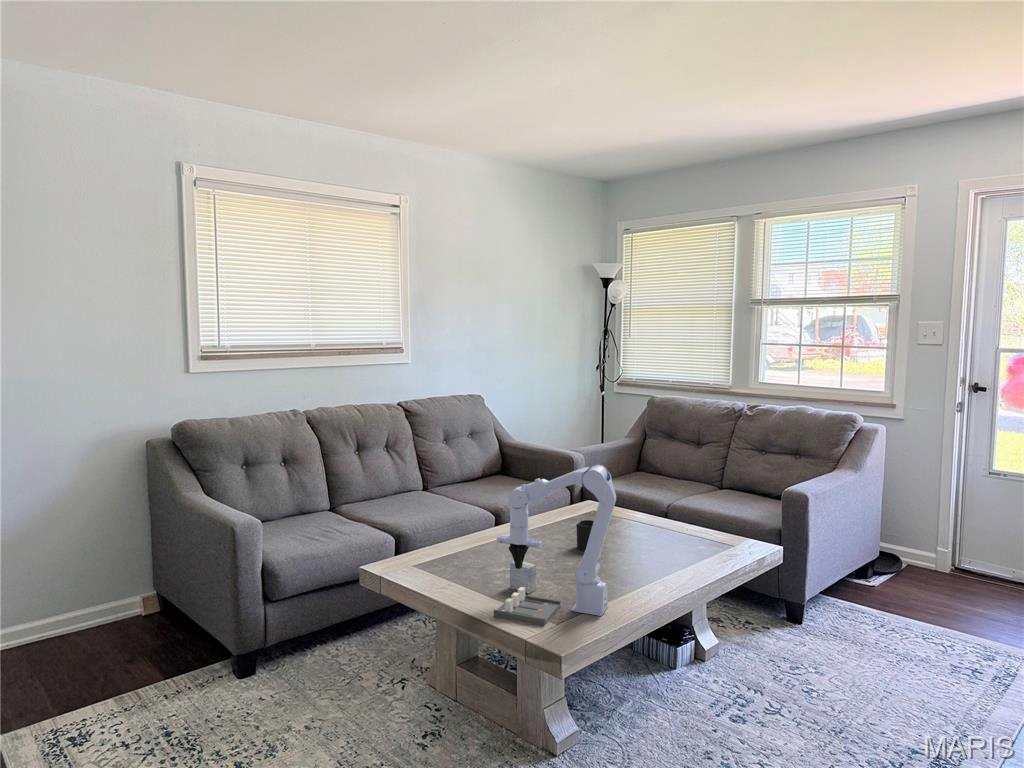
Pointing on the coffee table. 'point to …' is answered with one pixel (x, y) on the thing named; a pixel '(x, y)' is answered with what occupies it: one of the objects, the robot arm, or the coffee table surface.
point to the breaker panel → (531, 610)
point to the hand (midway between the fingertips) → (518, 567)
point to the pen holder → (583, 533)
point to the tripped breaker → (509, 605)
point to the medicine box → (523, 577)
